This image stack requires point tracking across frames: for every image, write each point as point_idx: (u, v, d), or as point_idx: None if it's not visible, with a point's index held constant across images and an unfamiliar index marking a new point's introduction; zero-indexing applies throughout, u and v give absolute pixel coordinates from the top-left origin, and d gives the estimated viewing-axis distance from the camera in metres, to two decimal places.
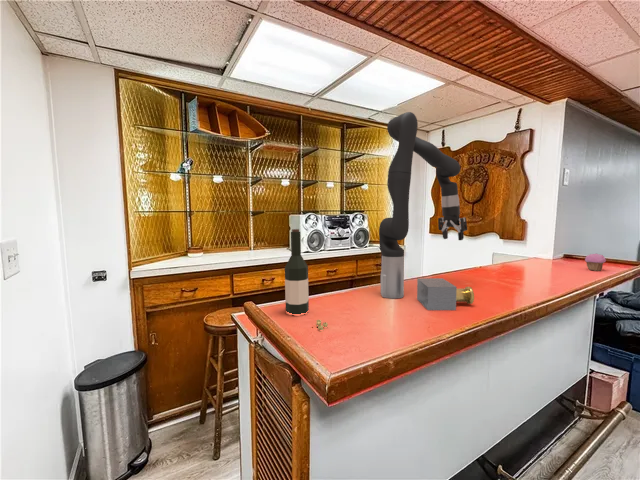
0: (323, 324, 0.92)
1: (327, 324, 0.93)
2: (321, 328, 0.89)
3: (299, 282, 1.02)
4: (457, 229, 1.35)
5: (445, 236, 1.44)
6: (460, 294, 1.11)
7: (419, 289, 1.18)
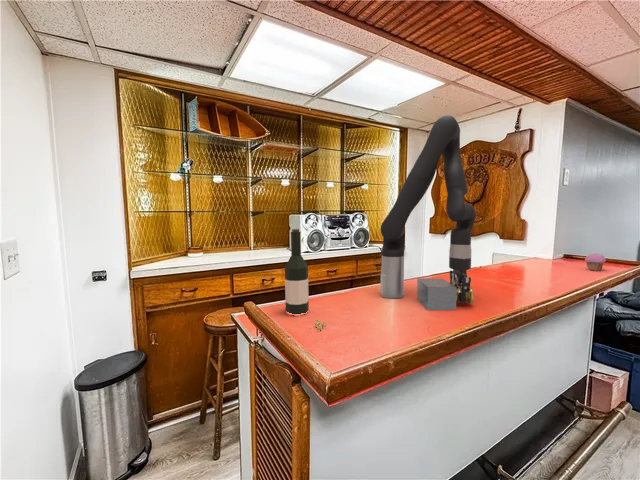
0: (322, 324, 0.92)
1: (326, 324, 0.92)
2: (320, 328, 0.89)
3: (299, 282, 1.02)
4: None
5: None
6: None
7: (419, 289, 1.18)
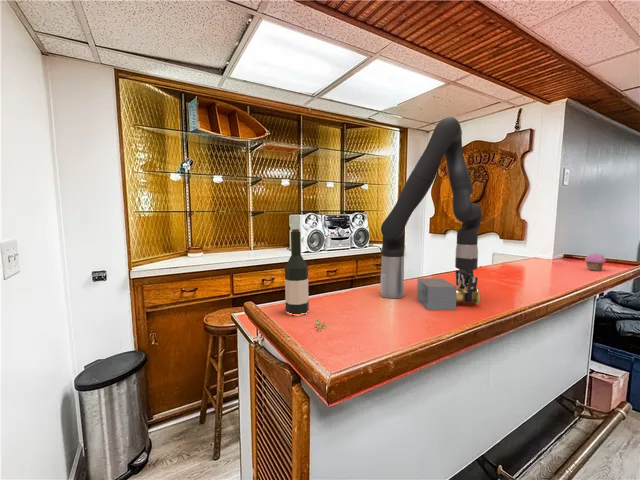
0: (322, 324, 0.92)
1: None
2: (319, 328, 0.89)
3: (299, 282, 1.02)
4: (465, 288, 1.10)
5: None
6: None
7: (419, 289, 1.18)
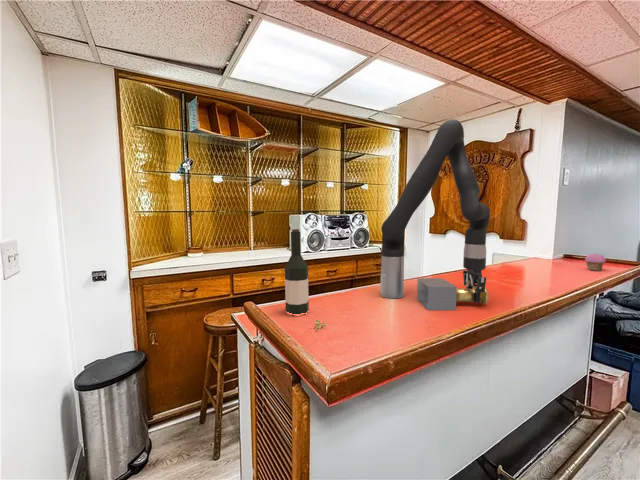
0: (321, 324, 0.92)
1: (325, 324, 0.92)
2: (319, 328, 0.89)
3: (299, 282, 1.02)
4: (473, 288, 1.10)
5: None
6: None
7: (419, 289, 1.18)
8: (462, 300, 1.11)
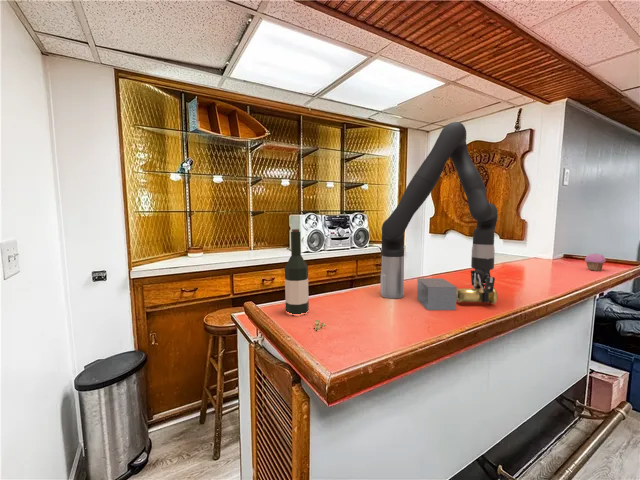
0: (321, 324, 0.92)
1: None
2: (318, 328, 0.89)
3: (299, 282, 1.02)
4: (481, 288, 1.10)
5: None
6: None
7: (419, 289, 1.18)
8: (470, 300, 1.11)
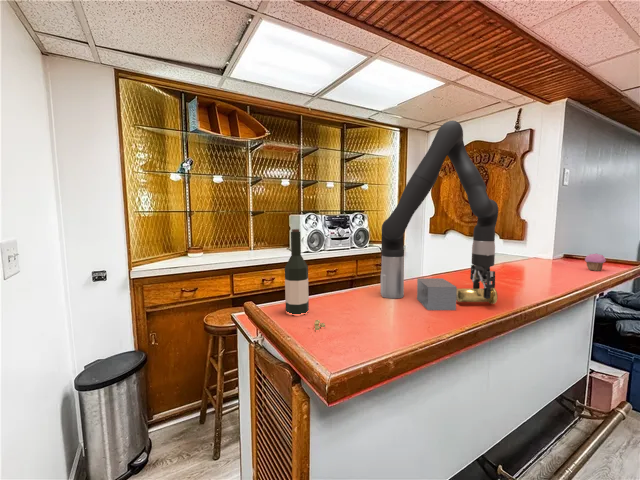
0: (320, 324, 0.92)
1: (324, 325, 0.92)
2: (317, 328, 0.89)
3: (299, 282, 1.02)
4: (483, 284, 1.08)
5: (476, 288, 1.16)
6: None
7: (419, 289, 1.18)
8: (470, 300, 1.11)
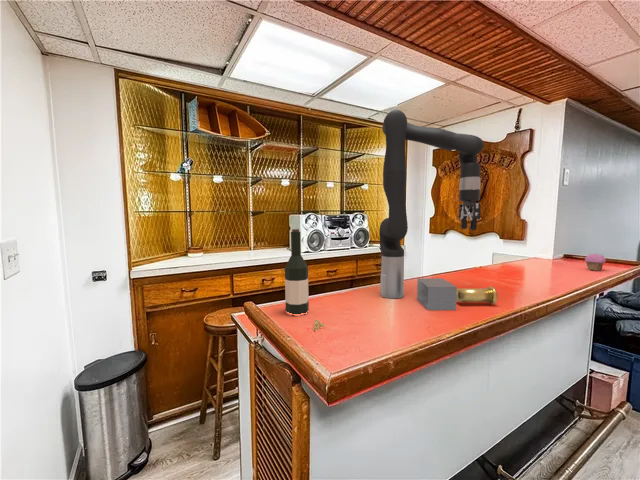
0: (320, 325, 0.92)
1: None
2: (316, 328, 0.89)
3: (299, 282, 1.02)
4: (470, 216, 1.16)
5: (464, 225, 1.24)
6: (483, 294, 1.10)
7: (419, 289, 1.18)
8: (470, 300, 1.11)
